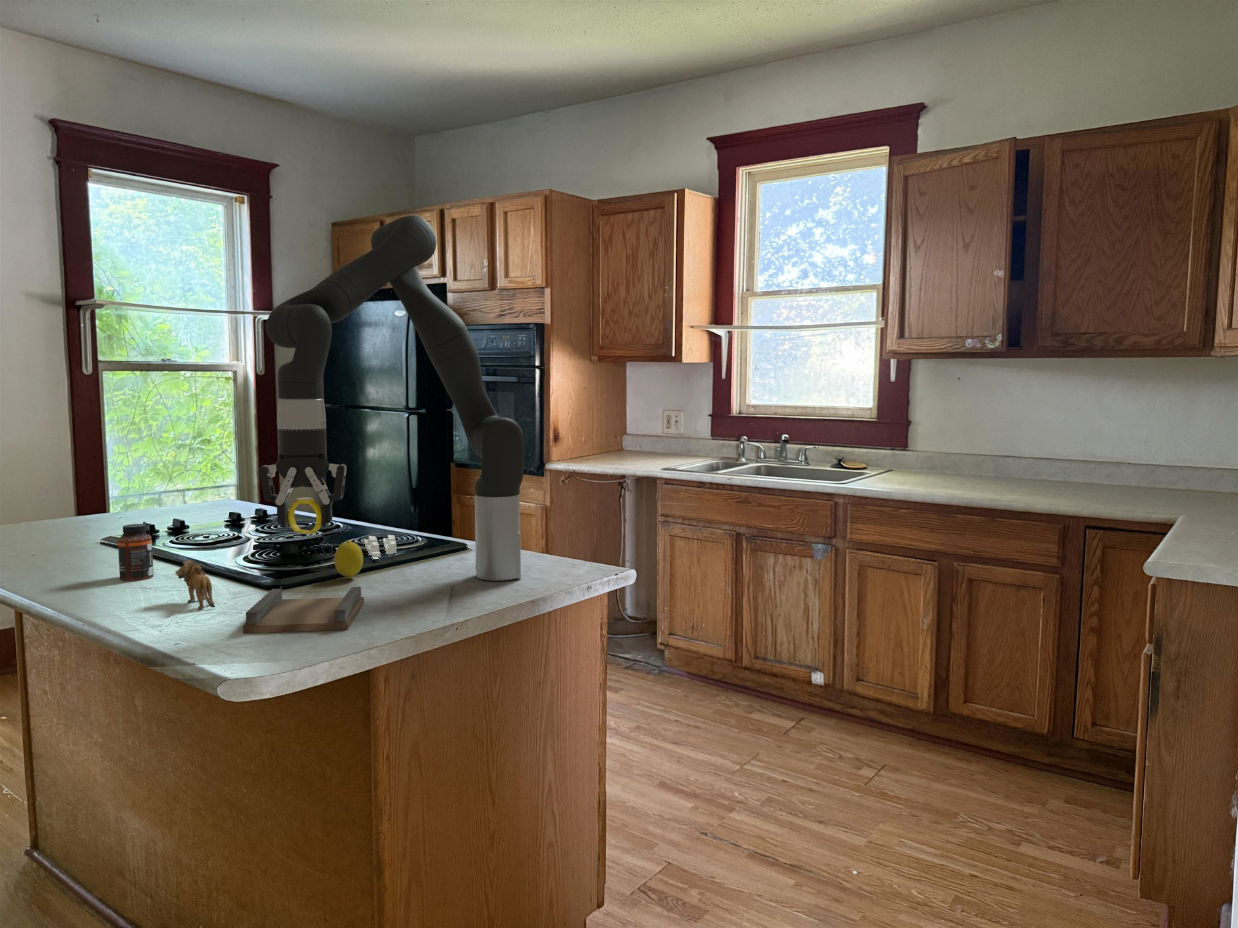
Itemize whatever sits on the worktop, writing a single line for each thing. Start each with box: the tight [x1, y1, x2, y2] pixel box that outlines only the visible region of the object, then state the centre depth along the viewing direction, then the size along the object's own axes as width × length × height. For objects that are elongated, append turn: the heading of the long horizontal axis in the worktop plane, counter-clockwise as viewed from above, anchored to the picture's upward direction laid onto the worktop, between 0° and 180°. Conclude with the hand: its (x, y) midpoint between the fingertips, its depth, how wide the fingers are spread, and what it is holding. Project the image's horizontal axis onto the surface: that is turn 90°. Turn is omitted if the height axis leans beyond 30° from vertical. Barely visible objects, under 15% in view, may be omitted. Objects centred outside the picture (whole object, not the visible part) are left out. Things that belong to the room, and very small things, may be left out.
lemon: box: [334, 539, 364, 580], centre depth 172 cm, size 6×6×8 cm
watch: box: [288, 496, 322, 535], centre depth 142 cm, size 6×3×6 cm, turn 74°
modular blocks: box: [363, 534, 397, 560], centre depth 195 cm, size 20×7×4 cm, turn 22°
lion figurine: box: [174, 560, 216, 610], centre depth 152 cm, size 12×4×7 cm, turn 49°
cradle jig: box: [242, 586, 365, 634], centre depth 143 cm, size 16×17×3 cm
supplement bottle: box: [117, 523, 154, 582], centre depth 169 cm, size 6×6×11 cm
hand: (305, 526), depth 142 cm, fingers closed on watch, 6 cm apart
